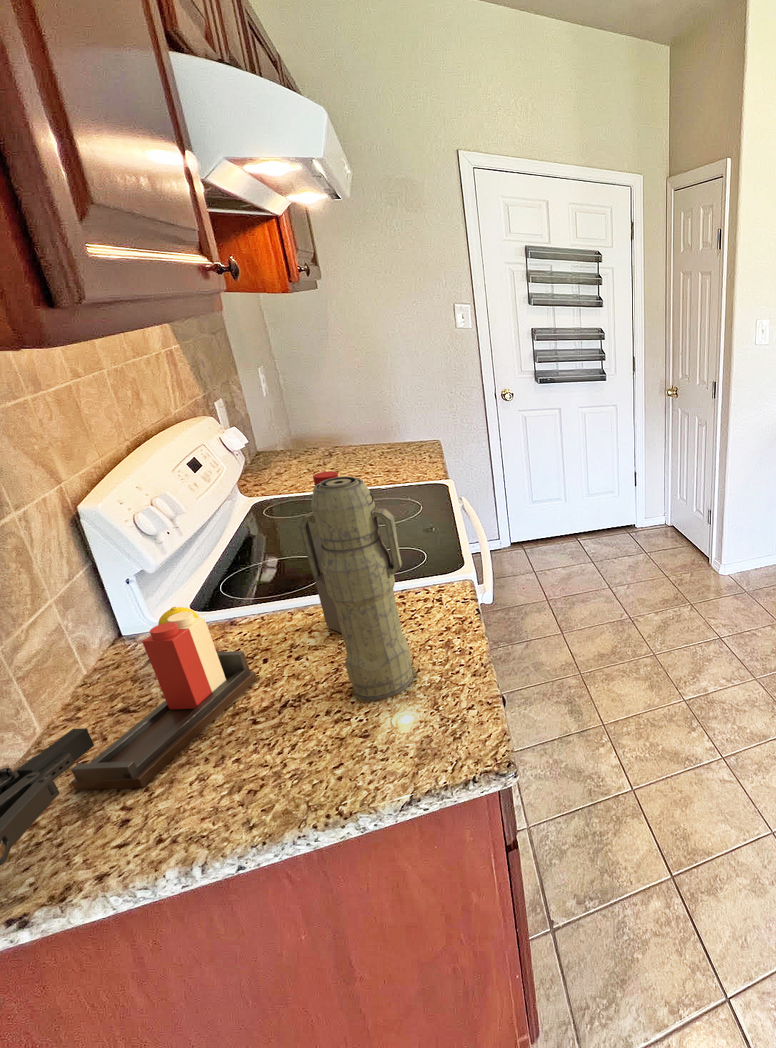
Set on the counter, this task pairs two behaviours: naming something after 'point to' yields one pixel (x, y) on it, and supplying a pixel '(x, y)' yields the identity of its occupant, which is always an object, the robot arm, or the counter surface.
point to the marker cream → (202, 646)
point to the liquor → (325, 600)
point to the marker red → (177, 666)
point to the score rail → (162, 735)
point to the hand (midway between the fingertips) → (83, 737)
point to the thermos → (360, 584)
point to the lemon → (174, 611)
